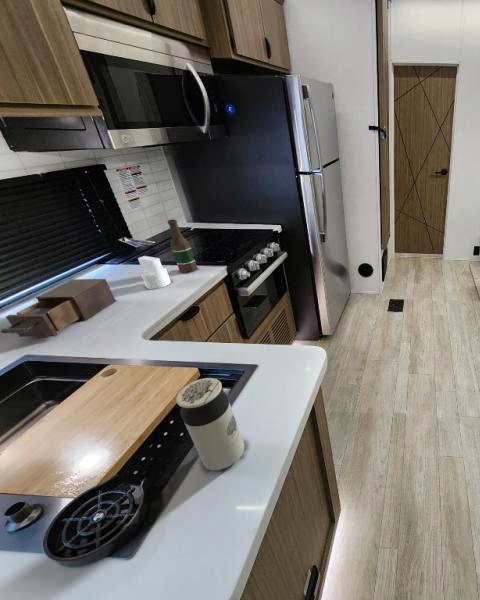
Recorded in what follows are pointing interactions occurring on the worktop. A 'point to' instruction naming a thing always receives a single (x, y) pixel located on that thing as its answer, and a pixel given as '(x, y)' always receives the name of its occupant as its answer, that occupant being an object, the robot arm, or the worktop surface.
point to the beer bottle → (181, 249)
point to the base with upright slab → (153, 272)
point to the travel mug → (211, 423)
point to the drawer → (43, 318)
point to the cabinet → (83, 295)
